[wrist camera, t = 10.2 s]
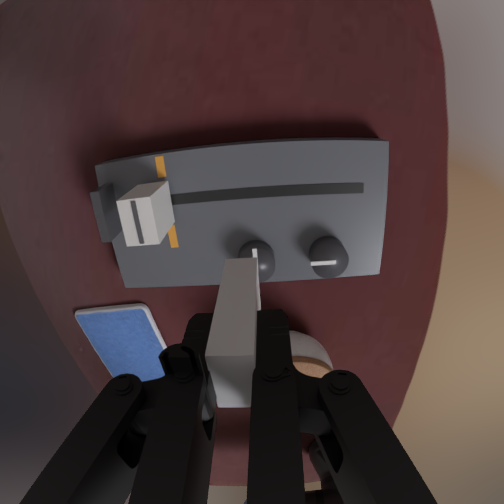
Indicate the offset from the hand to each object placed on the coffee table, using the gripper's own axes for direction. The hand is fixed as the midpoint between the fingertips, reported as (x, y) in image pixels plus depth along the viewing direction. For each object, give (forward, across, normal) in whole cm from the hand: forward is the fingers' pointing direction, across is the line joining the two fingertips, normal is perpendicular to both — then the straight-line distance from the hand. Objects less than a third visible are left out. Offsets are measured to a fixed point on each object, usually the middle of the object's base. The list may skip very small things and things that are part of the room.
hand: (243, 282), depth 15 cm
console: (+17, +1, +2) cm, 17 cm away
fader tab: (+14, +9, -1) cm, 16 cm away
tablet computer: (+18, +19, +23) cm, 35 cm away
